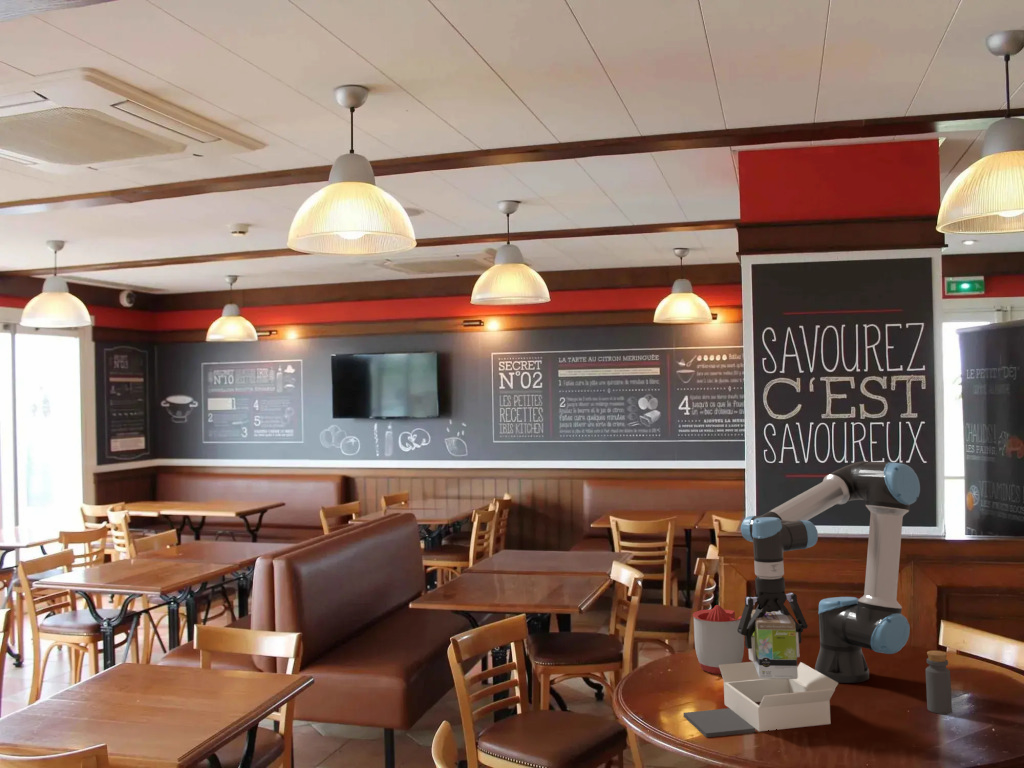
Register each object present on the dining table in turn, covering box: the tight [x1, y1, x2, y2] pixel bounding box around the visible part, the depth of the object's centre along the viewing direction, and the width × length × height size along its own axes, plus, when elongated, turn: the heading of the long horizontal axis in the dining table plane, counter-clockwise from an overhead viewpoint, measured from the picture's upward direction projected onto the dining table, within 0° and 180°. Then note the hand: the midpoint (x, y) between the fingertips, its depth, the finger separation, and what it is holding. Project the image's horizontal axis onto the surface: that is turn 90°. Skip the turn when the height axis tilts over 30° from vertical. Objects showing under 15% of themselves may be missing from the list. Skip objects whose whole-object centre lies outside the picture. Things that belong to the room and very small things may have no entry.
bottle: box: [925, 650, 953, 715], centre depth 224 cm, size 6×6×15 cm
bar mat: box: [683, 707, 756, 738], centre depth 219 cm, size 13×15×1 cm
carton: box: [719, 661, 839, 732], centre depth 225 cm, size 23×27×10 cm
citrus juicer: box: [692, 604, 745, 675], centre depth 265 cm, size 16×17×20 cm
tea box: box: [750, 609, 798, 679], centre depth 226 cm, size 15×10×15 cm
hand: (774, 658), depth 226 cm, fingers closed on tea box, 12 cm apart
